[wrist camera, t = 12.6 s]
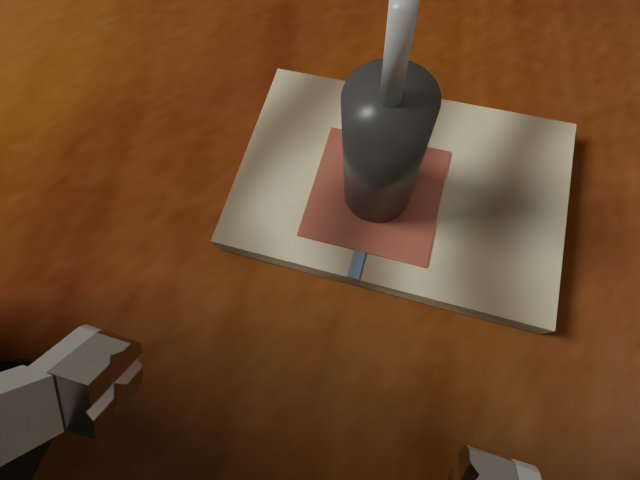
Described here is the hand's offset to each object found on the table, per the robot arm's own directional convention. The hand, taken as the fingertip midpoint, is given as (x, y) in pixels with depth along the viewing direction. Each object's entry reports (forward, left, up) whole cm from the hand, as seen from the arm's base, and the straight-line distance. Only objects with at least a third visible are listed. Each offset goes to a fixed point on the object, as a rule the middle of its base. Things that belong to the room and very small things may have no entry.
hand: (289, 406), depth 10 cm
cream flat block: (-1, -12, -11) cm, 16 cm away
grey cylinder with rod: (0, -11, -10) cm, 15 cm away
